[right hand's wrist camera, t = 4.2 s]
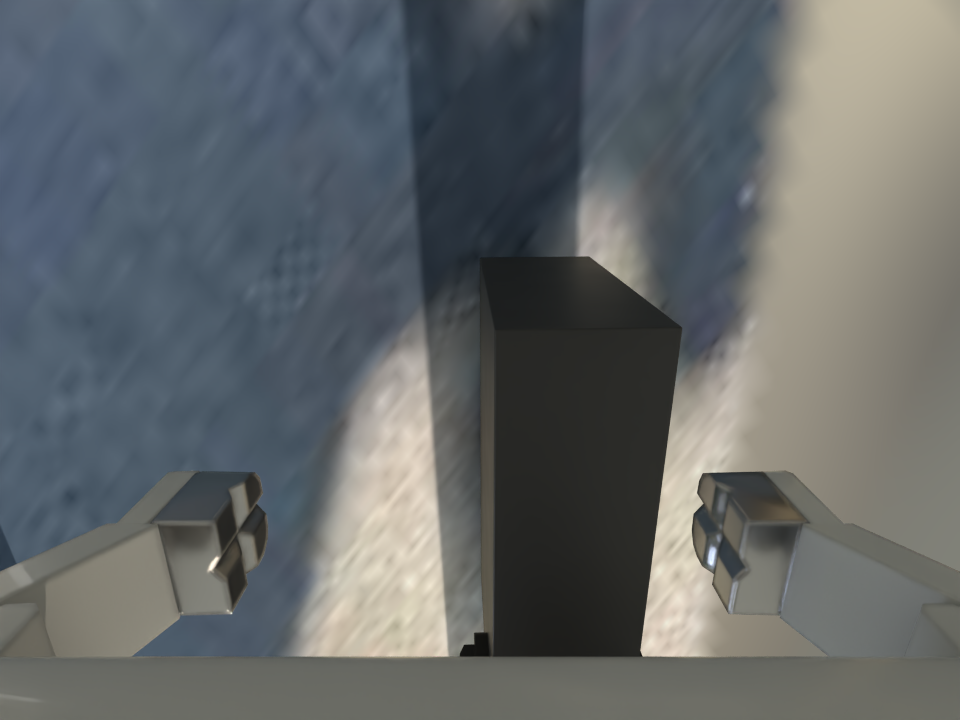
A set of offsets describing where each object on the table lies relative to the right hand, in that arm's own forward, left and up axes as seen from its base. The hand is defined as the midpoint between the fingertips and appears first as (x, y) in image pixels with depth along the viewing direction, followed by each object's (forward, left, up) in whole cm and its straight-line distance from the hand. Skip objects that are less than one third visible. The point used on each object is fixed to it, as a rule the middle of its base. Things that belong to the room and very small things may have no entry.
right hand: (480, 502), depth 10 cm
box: (+9, +4, -20) cm, 23 cm away
